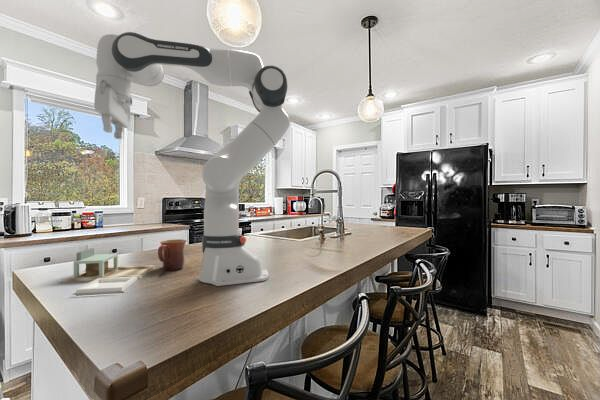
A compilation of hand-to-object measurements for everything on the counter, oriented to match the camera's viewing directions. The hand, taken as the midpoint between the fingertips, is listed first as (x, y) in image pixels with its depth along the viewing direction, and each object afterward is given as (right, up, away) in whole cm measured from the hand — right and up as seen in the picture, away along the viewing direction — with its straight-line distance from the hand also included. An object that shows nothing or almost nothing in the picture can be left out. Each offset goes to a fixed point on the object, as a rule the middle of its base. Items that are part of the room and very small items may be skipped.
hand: (113, 135), depth 86 cm
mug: (+11, -46, +16) cm, 49 cm away
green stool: (-10, -45, +6) cm, 46 cm away
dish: (+3, -45, -5) cm, 46 cm away
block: (-10, -45, +6) cm, 46 cm away
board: (-5, -45, +7) cm, 46 cm away
